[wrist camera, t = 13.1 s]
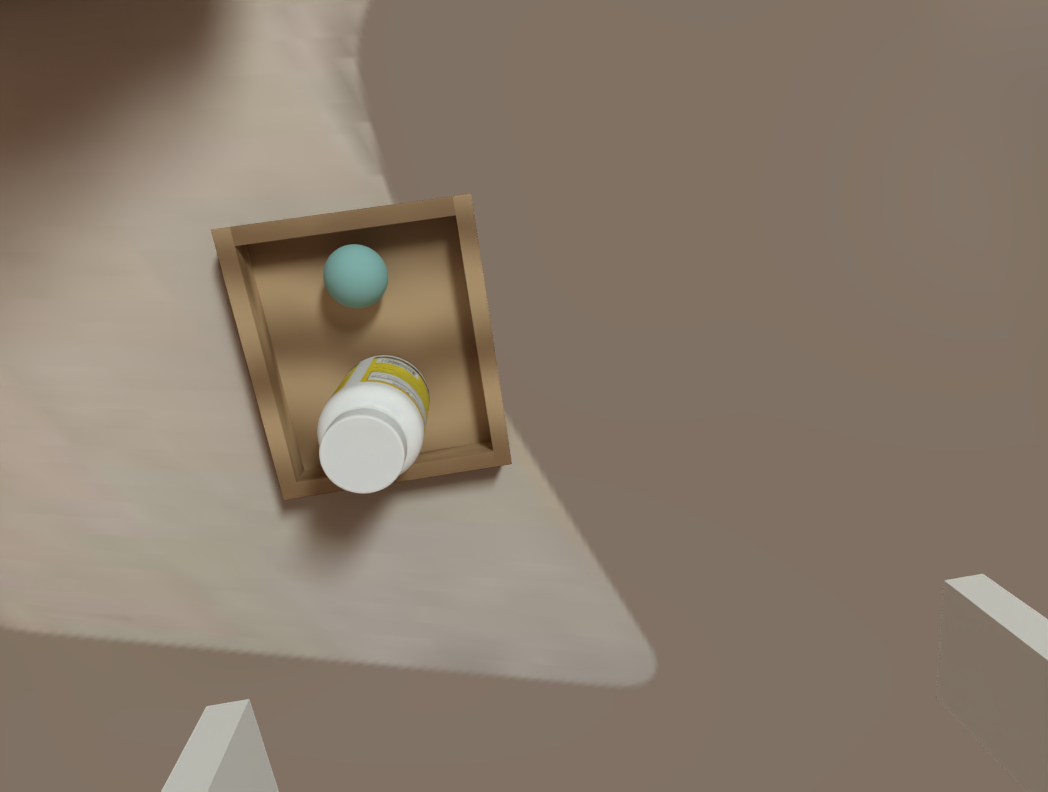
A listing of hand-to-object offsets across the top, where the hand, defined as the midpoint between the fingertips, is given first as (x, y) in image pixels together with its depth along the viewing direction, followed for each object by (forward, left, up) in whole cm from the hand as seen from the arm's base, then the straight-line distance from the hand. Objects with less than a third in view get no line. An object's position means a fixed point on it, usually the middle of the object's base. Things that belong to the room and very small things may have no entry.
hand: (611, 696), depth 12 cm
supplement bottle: (+1, -8, -28) cm, 29 cm away
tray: (-2, -8, -29) cm, 30 cm away
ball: (-7, -8, -28) cm, 30 cm away
